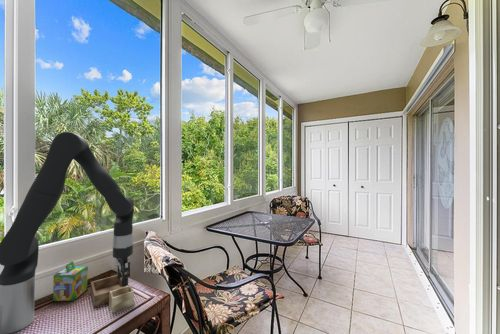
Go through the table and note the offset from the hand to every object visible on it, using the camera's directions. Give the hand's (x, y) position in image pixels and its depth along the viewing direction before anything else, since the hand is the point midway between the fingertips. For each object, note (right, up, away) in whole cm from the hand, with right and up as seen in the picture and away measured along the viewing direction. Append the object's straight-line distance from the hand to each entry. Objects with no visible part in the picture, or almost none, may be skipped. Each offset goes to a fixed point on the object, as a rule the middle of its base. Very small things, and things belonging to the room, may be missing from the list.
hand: (122, 281), depth 94 cm
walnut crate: (-11, -10, +7) cm, 16 cm away
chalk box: (-27, -10, +6) cm, 29 cm away
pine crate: (-1, -10, 0) cm, 10 cm away
